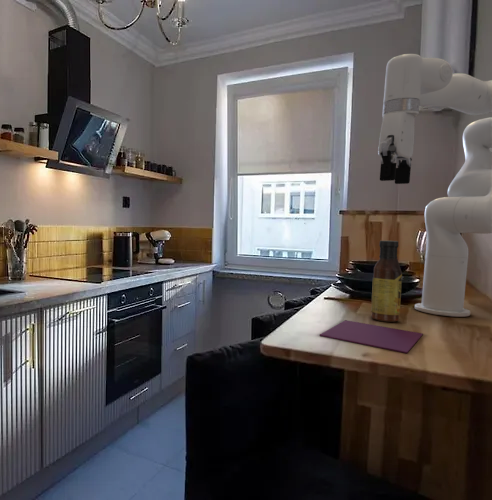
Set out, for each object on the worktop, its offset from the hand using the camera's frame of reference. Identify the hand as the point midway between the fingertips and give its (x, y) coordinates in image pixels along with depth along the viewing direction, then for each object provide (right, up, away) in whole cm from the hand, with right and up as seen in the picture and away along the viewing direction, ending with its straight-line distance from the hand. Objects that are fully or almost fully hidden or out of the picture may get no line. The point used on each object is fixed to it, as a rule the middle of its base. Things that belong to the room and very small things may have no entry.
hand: (394, 182), depth 103 cm
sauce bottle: (-1, -34, +3) cm, 34 cm away
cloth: (-12, -35, -12) cm, 39 cm away
